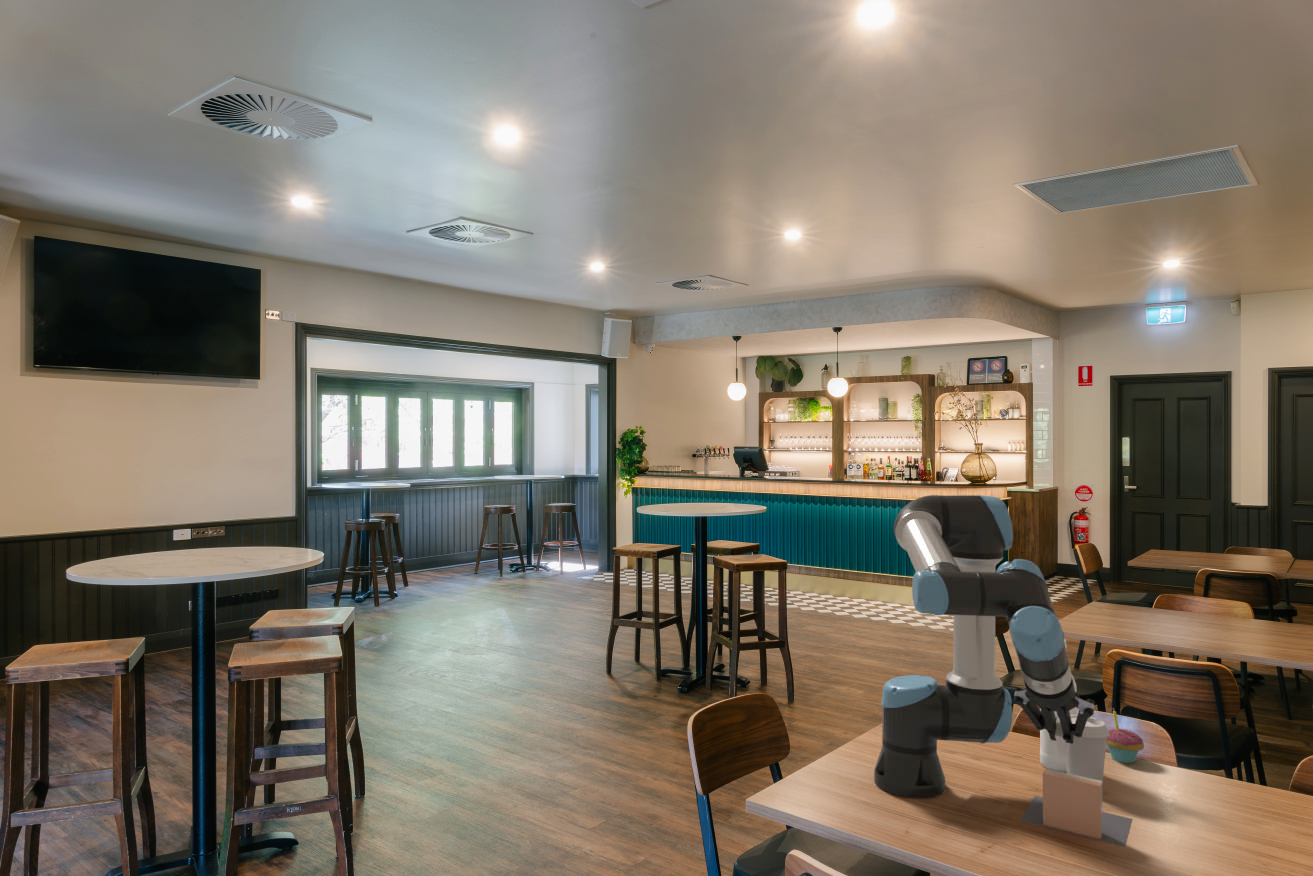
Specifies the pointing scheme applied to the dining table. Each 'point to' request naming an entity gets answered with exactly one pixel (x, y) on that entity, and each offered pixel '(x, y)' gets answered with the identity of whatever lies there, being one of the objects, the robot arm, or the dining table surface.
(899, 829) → the dining table surface
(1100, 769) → the coffee cup
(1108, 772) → the dining table surface
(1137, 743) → the cupcake
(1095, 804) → the tile
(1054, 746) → the bottle
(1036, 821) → the mat
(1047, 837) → the dining table surface
